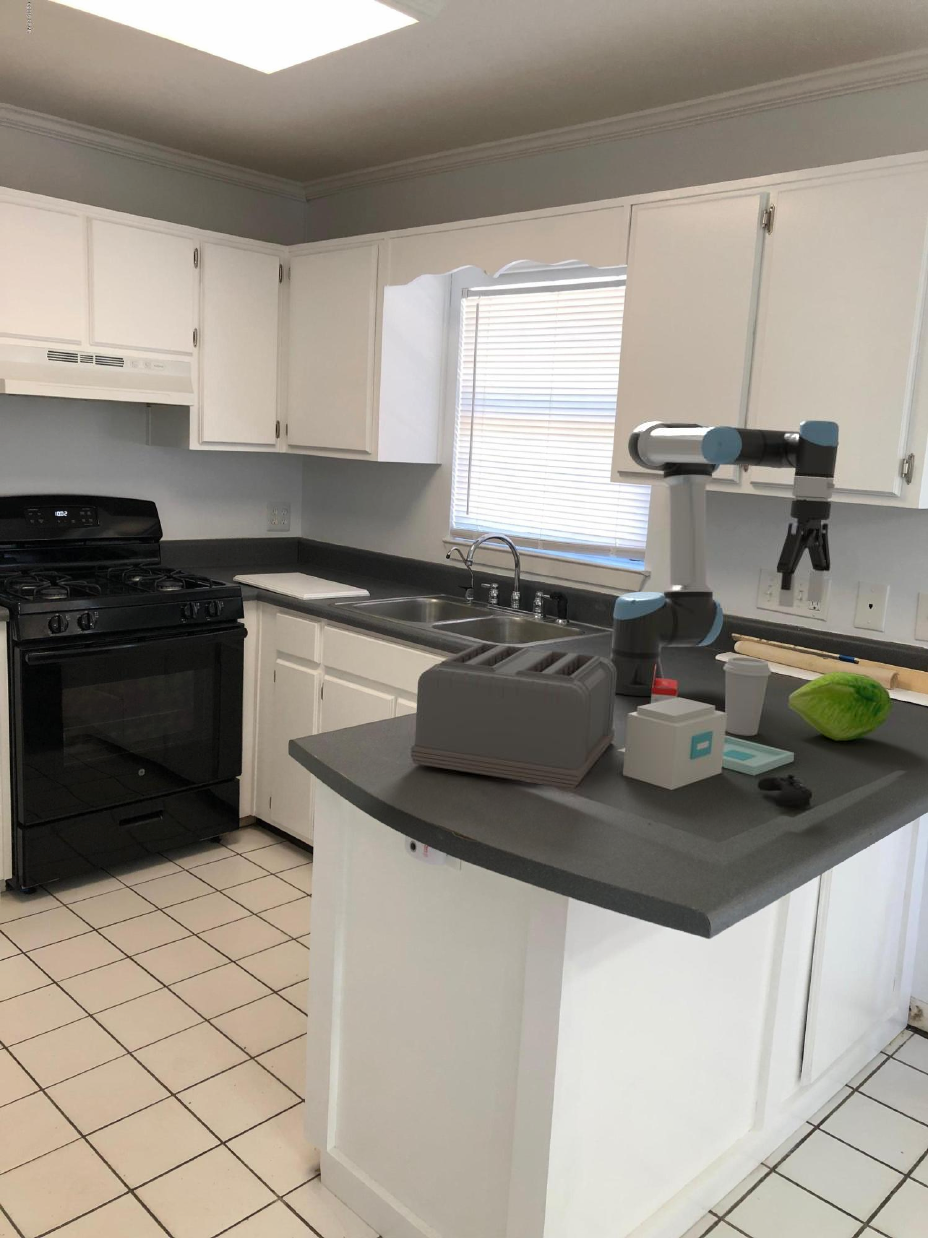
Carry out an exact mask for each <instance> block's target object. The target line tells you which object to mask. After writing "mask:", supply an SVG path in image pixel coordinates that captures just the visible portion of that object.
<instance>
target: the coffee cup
mask: <svg viewBox="0 0 928 1238" xmlns="http://www.w3.org/2000/svg"><path fill="white" fill-rule="evenodd" d="M723 671H725V695H724V696H725V698H724V699H725V703H724V704H725V706H724V707H725V709H724V710H725V711H724V713H727V719H726V729H725V732H728V733H729V734H732V735H739V736H755V735H757V734H758V731H759V725H760V721H761V716H762V715H761V714H762V711H763V704H764V700H765V694H766V689H767V683H768V679H769V675H771V674H772V670H771V668H770V666H769V662H767V661H766V660H762V659H759V658H751V657H740V656H739V657H734V656H733V657H729V658H728V659H727V662H725V664H724V666H723Z"/></svg>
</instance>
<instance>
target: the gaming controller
mask: <svg viewBox="0 0 928 1238" xmlns="http://www.w3.org/2000/svg"><path fill="white" fill-rule="evenodd" d="M757 788H758V789H759V790H760V791H764V792H776V791H777V792H778V791H779V793H777V796H776V797H775V800H774V803H775V805H776V806H777V807H780V808H786V807H791V806H794V805H797V804H798V805H801V806H803V807H806V806H811V798H812V796H813V791H812V790H811V789H809V788H808V787H806V786H805V784H803V783H802V782H801V781H800V780H798V779H795V776H794V775H793V774H788V775H787V777H786V776H785V777H781V776H765V777H763V778H761V779H759V781H758V782H757Z"/></svg>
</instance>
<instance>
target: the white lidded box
mask: <svg viewBox="0 0 928 1238" xmlns="http://www.w3.org/2000/svg"><path fill="white" fill-rule="evenodd" d="M726 719H727V713H725V711H724V712H723V711H721V710H716V705H712V704H709V703H704V702H700V701H697V700H692V699H687V698H682V697H678V696H677V698H673V699H669V700H665V701H660V702H656V703H651V702H650V703H649V704H648V703H647V704H645V705H644V704H643V705H638V706H637V708H636V711H633V712H629V713H627V721H626V733H625V743H624V744H625V745H624V746H625V747H623V748H620V749H617V750H616V756H621V757H624V758H623V768H622V769H623V770H622V776H625V777H628V778H632V779H635V780H639V781H641V782H646V783H648V784H652V785H654V786H658V787H661V788H664V789H666V790H667V789H668V790H672V791H673V790H674V789H678V788H681V787H684V786H686V785H687V786H688V785H689V784H692V783H695V782H699V781H701V780H705V779H707V778H711V777H714V776H716V775H718V774H721V773H722V770H723V769H722V768H723V767H722V760H723V750H724V739H725V735H726V730H725V729H726Z"/></svg>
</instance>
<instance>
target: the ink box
mask: <svg viewBox="0 0 928 1238" xmlns="http://www.w3.org/2000/svg"><path fill="white" fill-rule="evenodd" d="M655 673H656V665H655V670H654V677H653V685H652V696H650V704H651V703H656V702H660V701H665V700H669V699H673V698H678V680H675V679H670V678H669V679H668V678H664V679H658V678H655Z"/></svg>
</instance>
